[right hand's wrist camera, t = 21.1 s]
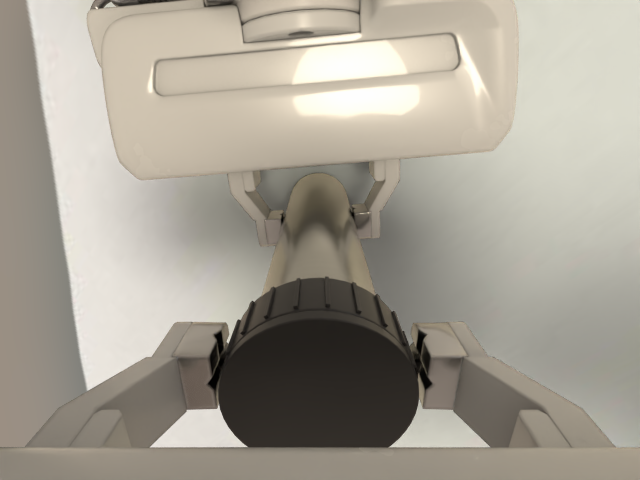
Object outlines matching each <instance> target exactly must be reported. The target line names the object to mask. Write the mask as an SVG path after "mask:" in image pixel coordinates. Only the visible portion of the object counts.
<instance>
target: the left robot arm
mask: <svg viewBox="0 0 640 480" xmlns="http://www.w3.org/2000/svg"><path fill="white" fill-rule="evenodd" d="M109 2H112V3H113V4H114V5H115V6H117V7H109V8H104V7H105V6H106V5H107V4H108V3H109ZM87 26H88V31H89V34H90V38H91V41H92V45H93V48H94V52H95V55H96V58H97V61H98V63H99V65H100V67H101V68H102V77H103V85H104V93H105V100H106V107H107V112H108V118H109V124H110V129H111V134H112V138H113V142H114V147H115V151H116V154H117V157H118V160H119V162H120V163H121V164H122V165H123V166H124V167H125V168H126V169H127V170H128V171H129V172H130V173H131V174H132V175H134V176H135V177H136V178H137V179H139V180H153V179H165V178H177V177H189V176H201V175H213V174H225V173H227V175H228V181H229V186H230V192H231V194H232V196H233V197H234V198H235V199H236V200H237V201H238V203H239V204H240V205H241V206H242V207H243V209H244V210H245V211H246V212H247V213H248V215H249V216H250V217H251V218H252V219H253V220H256V226H257V232H258V238H259V244H260V246H261V247H263V246H274V245H276V244H277V241H278V237H279V234H280V230H281V227H282V223H283V220H284V210H275V211H271V210H270V208H269V207H268V206H267V204H266V203H265V202H264V200H263V199H262V198H261V196H260V195H259V193H258V192H257V191H256V187H257V186H258V185H259V184H260V182H261V176H260V171H261V170H274V169H286V168H298V167H310V166H322V165H334V164H346V163H358V162H369V173H370V174H371V175H372V177H373V178H374V180H376V181H375V183H374V185H373V187H372V189H371V191H370V193H369V195H368V197H367V199H366V201H365V203H363V204H353V205H352V214H353V218H354V221H355V225H356V228H357V232H358V235H359V239H368V238H379V237H380V210H383V208H384V206H385V204H386V203H387V201H388V199H389V198H390V196H391V194H392V193H393V191H394V189H395V187H396V186H397V184H398V182H399V181H400V159H406V158H418V157H431V156H443V155H455V154H467V153H479V152H489V151H493V150H494V149H495V148H496V147H497V146H498V145H499V144H500V143H501V141H502V140H503V139H504V137H505V136H506V135H507V134H508V132H509V131H510V129H511V127H512V123H513V119H514V113H515V104H516V94H517V80H518V57H519V32H518V17H517V12H516V7H515V4H514V1H513V0H95V1H94V2H93V4H92V6H91V9H90V11H89V12H88V13H87Z"/></svg>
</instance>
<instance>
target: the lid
mask: <svg viewBox="0 0 640 480" xmlns="http://www.w3.org/2000/svg"><path fill="white" fill-rule="evenodd" d="M225 355H226V358H225V361H224V363H223V366H222V369H221V372H220V376H219V377H220V379H219V386H218V400H219V405H220V410H221V413H222V415H223V418H224V420H225V422H226V423H227V425H228V427H229V428H230V430H231V431H232V432H233V433H234V435H235V436H236V437H237V438H238V439H239V440H240V441H241V442H242V443H244V444H245V445H246V446H248V447H378V448H388V447H390V446H391V445H392V444H393V443H394V442H396V441H397V440H398V439H399V438H400V437H401V436H402V435H403V433H404V432H405V431H406V430H407V428H408V427H409V425H410V424H411V422H412V420H413V418H414V416H415V414H416V410H417V406H418V401H419V383H418V379H417V375H416V372H415V369H414V368H415V367H417V366H416V363H415V360H414V357H413V355H412V352H411V349H410V346H409V344H408V341H407V338H406V336H405V333H404V331H402V329H401V327H400V324H399V321H398V318H397V315H396V313H395V311H393V312H391V310H390V309H389V308H388V307H387V306H386V305H385V303H384V302H383V301H381V300H380V297H379V295H378V294H376V295H374V294H372V293H371V292H369V291H368V290H366V289H364V288H362V287H360V286H357V285H356V283H355V282H352V283H349V282H346V281H342V280H337V279H331V278H329V277H326V276H325V278H307V279H300V278H297V279H296V280H295V281H292V282H288V283H285V284H283V285H280V286H278V287H276V288H275V287H274V286H273V287H271V289H270V291H268V292H267V293H265V294H264V295H262V296H261V297H260V298H258V299H257V300H256V301H255V302H253V301H252V302H251V303H250V305H249V308H248V310H247V311H246V312H245V314H244V315H243V317H242V319H241V320H238V321H237V323H236V326H235V328H234V331H233V334H232V336H231V339H230V342H229V345H228V347H227V350H226V353H225Z"/></svg>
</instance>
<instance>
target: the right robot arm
mask: <svg viewBox="0 0 640 480" xmlns="http://www.w3.org/2000/svg"><path fill="white" fill-rule="evenodd" d="M228 336H229V329H228V325H227V323H222V322H176V323H174V324H173V326H172V327H171V329H170V330H169V332H168V333H167V335H166V336H165V338H164V339H163V341H162V342H161V344H160V345H159V347H158V348H157V350H156V351H155V353H154V354H153V356H152V357H146V358H144V359H142V360H141V361H139V362H137V363H135V364H134V365H132V366H130V367H128V368H127V369H125V370H123V371H122V372H120V373H118V374H116V375H115V376H113V377H111V378H109V379H108V380H106V381H104V382H103V383H101V384H99V385H97V386H96V387H94V388H92V389H90V390H89V391H87V392H85V393H84V394H82V395H80V396H78V397H77V398H75V399H73V400H71V401H70V402H68V403H66V404H65V405H63V406H61V407H59V408H58V409H57V410H56V411H55V413H54V414H53V415H52V416H51V417H50V418H49V419H48V421H47V422H46V423H45V424H44V425H43V426H42V428H41V429H40V430H39V431H38V432H37V433H36V435H35V436H34V437H33V438H32V439H31V440H30V441H29V442H28V444H27V445H26V446H25V447H0V480H640V447H615V446H614V445H613V444H612V442H611V441H610V440H609V439H608V438H607V437H606V435H605V434H604V433H603V432H602V431H601V430H600V428H599V427H598V426H597V425H596V424H595V423H594V421H593V420H592V419H591V418H590V417H589V416H588V415H587V413H586V412H585V411H584V410H583V409H582V408H580V407H579V406H577V405H575V404H573V403H572V402H570V401H568V400H567V399H565V398H563V397H561V396H560V395H558V394H556V393H555V392H553V391H551V390H549V389H548V388H546V387H544V386H542V385H541V384H539V383H537V382H536V381H534V380H532V379H530V378H529V377H527V376H525V375H524V374H522V373H520V372H518V371H517V370H515V369H513V368H511V367H510V366H508V365H506V364H505V363H503V362H501V361H499V360H498V359H496V358H494V357H488V356H487V354H486V353H485V351H484V350H483V348H482V347H481V345H480V344H479V342H478V341H477V339H476V338H475V337H474V335H473V334H472V332H471V331H470V329H469V328H468V326H467V325H466V323H464V322H446V323H413V325H412V329H411V336H412V339H413V341H414V342H413V343H412V344H411V345H410V349H411V352H412V355H413V357H414V360H415V363H416V366H417V367H415V368H414V369H415V372H416V375H417V379H418V383H419V399H420V402H421V404H422V407H423V409H449V410H453V411H454V412H455V413H456V414H457V415H458V416H459V417H460V418H461V419H462V420H463V421H464V422H465V423H466V424H467V425H468V426H469V427H470V428H471V429H472V430H473V431H474V432H475V433H477V434H478V435H479V436H480V437H481V438H482V439H483V440H484V441H485V442H486V443H487V444H488V445H489V446H490V447H491V448H378V447H187V448H149V447H150V446H151V445H152V444H153V443H154V442H155V441H156V440H157V439H158V438H159V437H161V436H162V435H163V434H164V433H165V432H166V431H167V430H168V429H169V428H170V427H171V426H172V425H173V424H174V423H175V422H176V421H177V420H178V419H179V418H180V417H181V416H182V415H183V414H184V413H185V412H186V411H187V410H191V409H217V408H218V405H219V400H218V386H219V379H220V377H219V376H220V372H221V369H222V366H223V363H224V361H225V358H226V355H225V353H226V350H227V347H228V345H229V344H228V343H227V339H228Z"/></svg>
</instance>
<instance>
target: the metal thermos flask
mask: <svg viewBox="0 0 640 480" xmlns="http://www.w3.org/2000/svg"><path fill="white" fill-rule="evenodd" d="M325 276H326V277H329V278H331V279H337V280H342V281H346V282H349V283H352V282H355V283H356V285H357V286H360V287H362V288H364V289H366V290H368V291H369V292H371V293H372V294H374V295H376V294H375V290H374V287H373V283H372V280H371V277H370V273H369V270H368V266H367V263H366V259H365V256H364V252H363V249H362V245H361V242H360V239H359V235H358V232H357V228H356V225H355V221H354V218H353V214H352V211H351V207H350V204H349V201H348V197H347V194H346V191H345V189H344V187H343V185H342V184H341V183H340V182H339V181H338V180H337V179H336V178H334V177H333V176H331V175H328V174H324V173H313V174H309V175H307V176H305V177H303V178H302V179H300V180H299V181H298V182H297V183H296V185H295V186H294V188H293V190H292V192H291V196H290V199H289V203H288V206H287V210H286V213H285V216H284V220H283V223H282V227H281V230H280V234H279V237H278V241H277V244H276V248H275V251H274V254H273V258H272V261H271V265H270V268H269V272H268V275H267V279H266V282H265V285H264V289H263V292H262V295H264V294H265V293H267V292H268V291H270V289H271V287H273V286H274V287H275V288H276V287H278V286H280V285H283V284H285V283H288V282H292V281H295V280H296V279H297V278H300V279H307V278H325Z"/></svg>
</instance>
